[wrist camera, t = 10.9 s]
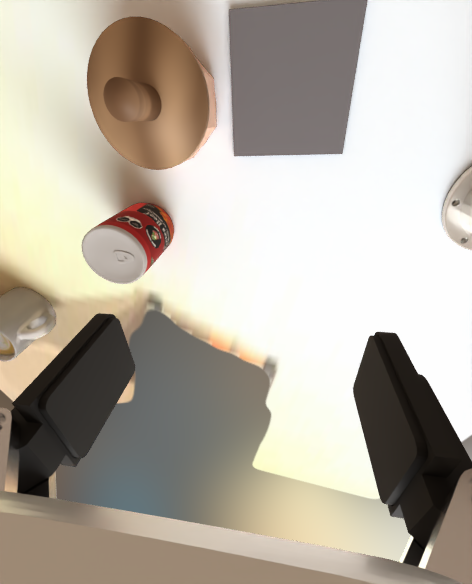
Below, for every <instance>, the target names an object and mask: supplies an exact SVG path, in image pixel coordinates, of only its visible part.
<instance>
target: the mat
mask: <svg viewBox="0 0 472 584" xmlns="http://www.w3.org/2000/svg"><path fill="white" fill-rule="evenodd" d="M366 5H367V0H321V1H311V2H301V3H291V4H281V5H271V6H261V7H251V8H241V9H231V10H229V24H230V53H231V81H232V110H233V138H234V156H265V155H310V154H342V153H343V146H344V140H345V134H346V128H347V122H348V116H349V110H350V103H351V97H352V91H353V85H354V79H355V73H356V66H357V60H358V54H359V48H360V42H361V36H362V30H363V23H364V17H365V11H366Z"/></svg>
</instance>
